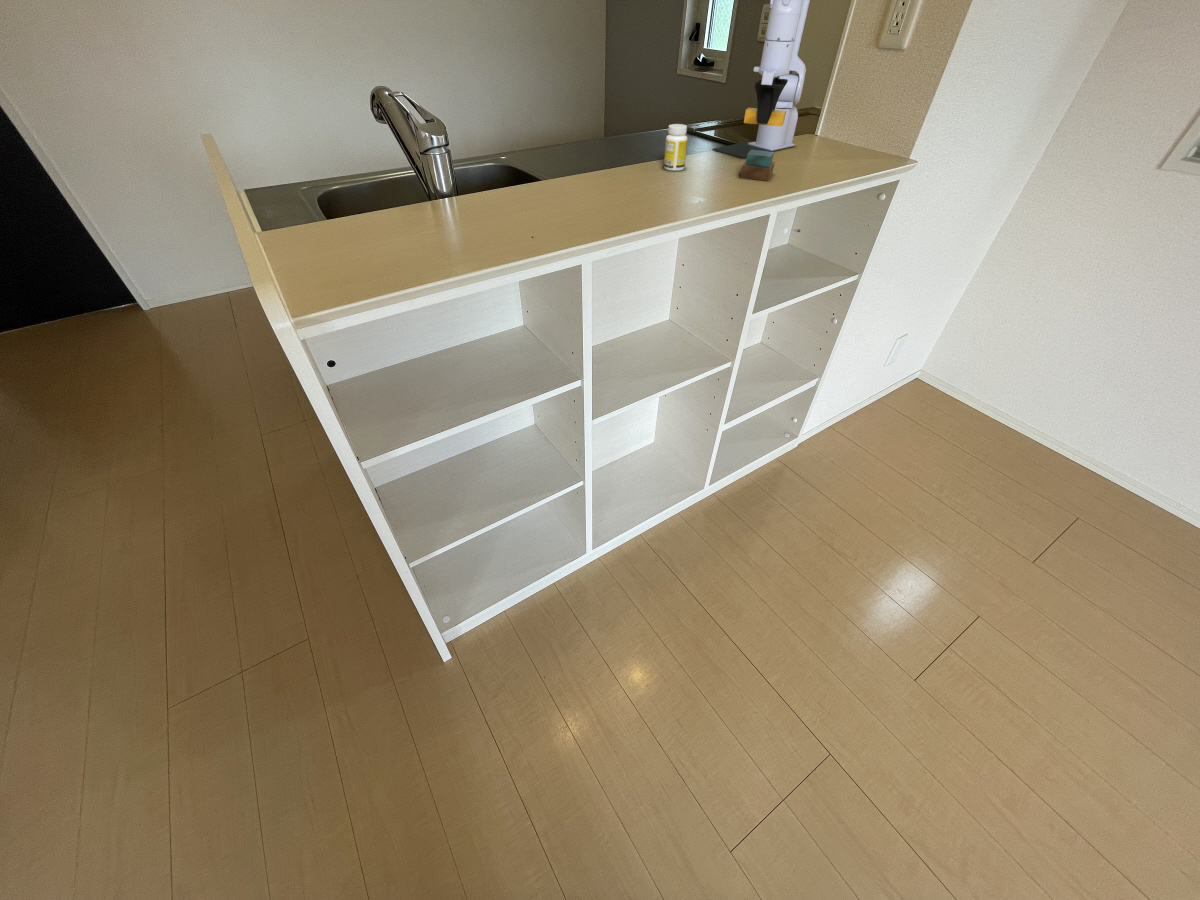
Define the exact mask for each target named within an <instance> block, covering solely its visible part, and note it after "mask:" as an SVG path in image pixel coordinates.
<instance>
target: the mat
mask: <svg viewBox="0 0 1200 900" xmlns="http://www.w3.org/2000/svg"><path fill="white" fill-rule="evenodd" d="M750 142H751V141H749V140H748V141H744V142H739V143H734V144H729V145H724V146H718V147H714V148H712V151H715V152H718V153H722V154H726V155H728V156H732V157H736V158H738V159H739V158H740V159H747V154H748V153H749V152H750V151H751V150H759V151H768V152H777V151H780V149H777V150H767V149H764V148H760V147H756V146H752V145H748V143H750Z"/></svg>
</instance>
